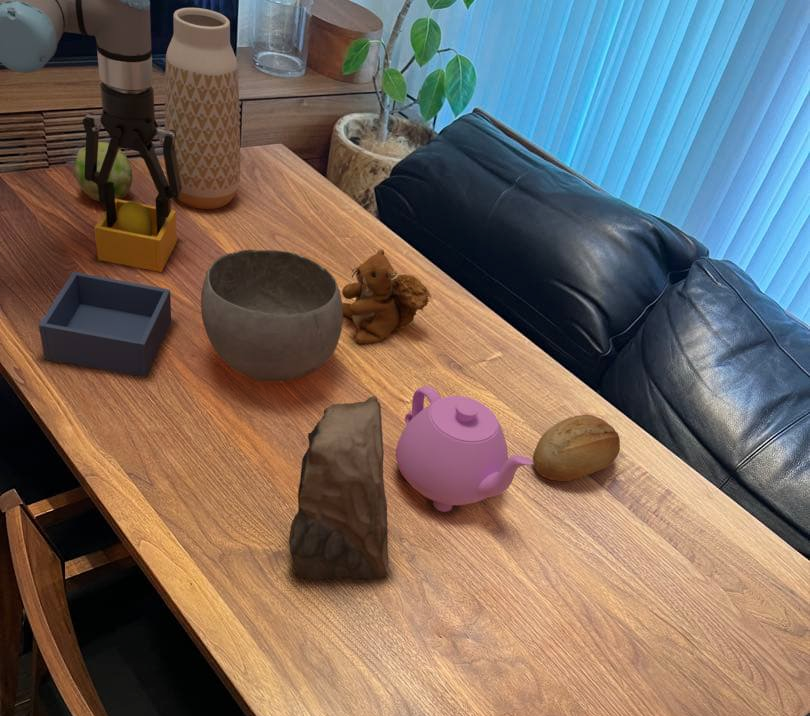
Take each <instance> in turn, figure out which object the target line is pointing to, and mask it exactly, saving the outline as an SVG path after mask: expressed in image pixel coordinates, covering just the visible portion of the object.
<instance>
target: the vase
mask: <svg viewBox="0 0 810 716" xmlns="http://www.w3.org/2000/svg"><path fill="white" fill-rule="evenodd" d="M239 86H240V85H239V67H238V60H237V57H236V55H235V52H234V49H233V47H232V44H231V21H230V19H229V18H227V16H225V15H223V14H222V13H220V12H218V11H214V10H211V9H207V8H201V7H182V8H179V9H176V10H175V11H174V13H173V34H172V37H171V40H170V42H169V44H168V47H167V50H166V54H165V78H164V130H167V131H169V130H171V129H172V130H174V131H175V132H176V139H175V144H174V146H175V152H176V157H177V163H178V169H179V174H180V180H181V186H182V191H181V193H180V194H179V196H178V198H177V199H178V201H180V202H181V203H183V204H185V205H187V206H189V207H192V208H196V209H200V210H215V209H220V208H222V207H225V206H226V205H228V204H229V203H230V202H231V201H232V200H233V198H234V197H235V195H236V193H237V191H238V188H239V184H240V179H241V132H240V131H241V128H240V127H241V126H240V125H241V124H240V123H241V122H240V89H239V88H240V87H239ZM164 169H165V177H166V179H167V181H168V176H167V170H166V165H165V164H164ZM168 184H169V181H168Z"/></svg>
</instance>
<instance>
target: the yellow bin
mask: <svg viewBox="0 0 810 716" xmlns="http://www.w3.org/2000/svg"><path fill="white" fill-rule="evenodd" d="M129 201H130V200H126V199H125V200H124V199H115V206H116V217H118V211H119V209H120V208H121V206H122V205H124V204H125V203H127V202H129ZM138 203H139V204H141V205H143V206H144V207H145V208H146V210H147V211H148V213H149V215H150V218H151V221H152V235H151V236H147V235H142V234H137V233H132V232H127V231H121V230H119V228H118V221H117V220H116V222H115V224H114V225H113V227H107V217H106V210H105V211H104V212H103V214H102V215H101V216H100V218H99V220H98V221H97V222H96V224H95V226H94V229H93V230H94V237H95V247H96V254H97V261H102V262H108V263H112V264H117V265H123V266H127V267H128V266H129V267H134V268H137V269H144V270H148V271H154V272H159V273H162V272H163V270H164V268H165V267H166V264H167V263H168V260H169V258H170V256H171V254H172V253H173V250H174V248H175V246H176V245H177V242H178V237H177V236H178V233H177V211H176V210H174V209H171V212H170V214H169V216H168V218H167V217H165V220H166V221H165V223H164V224H163V226H162V228H161V230H160V232H159V234H158V236H157V220H156V205H155V206H154V205H150V204H145V203H140V202H138Z"/></svg>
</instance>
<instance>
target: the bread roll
mask: <svg viewBox="0 0 810 716" xmlns="http://www.w3.org/2000/svg"><path fill="white" fill-rule="evenodd" d="M620 449H621V442H620V436H619V433H618V432H617V431H616V429H615V428H614V426H612V425H611V424H609V423H608V422H607V421H606V420H605V419H603V418H601V417H598V416H595V415H592V414H581V415H575V416H570V417H567V418H565V419H562V420H561V421H559V422H557V423H555V424H554V425H552V426H551V427H550V428H548V429H547V430H546V431H545V432H544V433H543V434H542V435H541V437H540V438H539V440H538V441H537V444H536V446H535V449H534V452H533V456H532V462H533V465H534V468H535V470H536V472H537V474H539V475H540V476H541V477H543V478H545V479H548V480H551V481H555V482H567V481H572V480H573V481H574V480H577V479H580V478H583V477H586V476H588V475H591V474H594V473H596V472H598V471H601V470H603V469H606V468H607V467H609V466H611V465H613V463H614V461H615V460H616V459H617V457H618V455H619V453H620Z"/></svg>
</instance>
